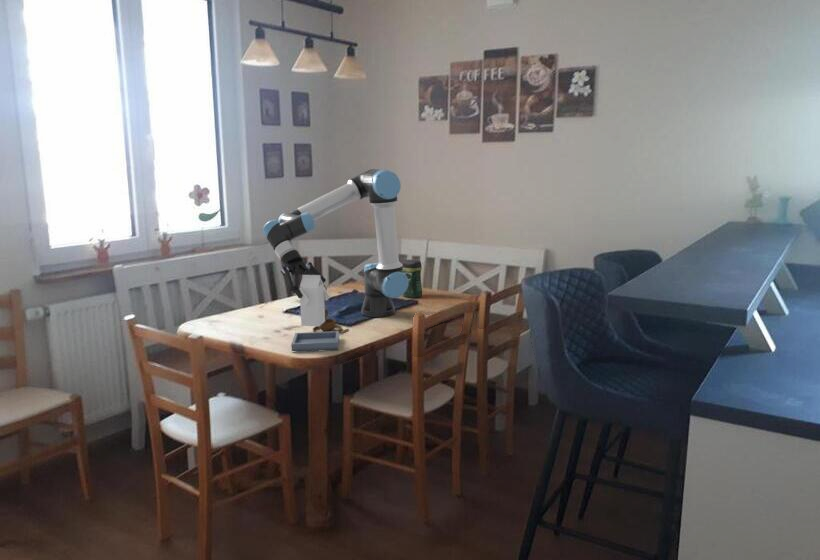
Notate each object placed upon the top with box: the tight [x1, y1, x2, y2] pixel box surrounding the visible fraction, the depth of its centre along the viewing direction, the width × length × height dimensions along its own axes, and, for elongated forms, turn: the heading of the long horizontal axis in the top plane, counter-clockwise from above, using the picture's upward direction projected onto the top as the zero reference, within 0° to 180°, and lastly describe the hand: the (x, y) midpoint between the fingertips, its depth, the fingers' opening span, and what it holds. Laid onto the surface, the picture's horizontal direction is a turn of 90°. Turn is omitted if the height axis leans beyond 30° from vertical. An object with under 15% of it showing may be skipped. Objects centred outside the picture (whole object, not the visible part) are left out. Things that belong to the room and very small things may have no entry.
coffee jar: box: [401, 259, 423, 299], centre depth 323 cm, size 10×8×19 cm
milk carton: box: [299, 275, 326, 327], centre depth 243 cm, size 7×7×19 cm
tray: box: [291, 330, 340, 352], centre depth 247 cm, size 17×15×3 cm
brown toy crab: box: [312, 308, 350, 335], centre depth 270 cm, size 18×20×6 cm
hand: (317, 301), depth 241 cm, fingers closed on milk carton, 9 cm apart
